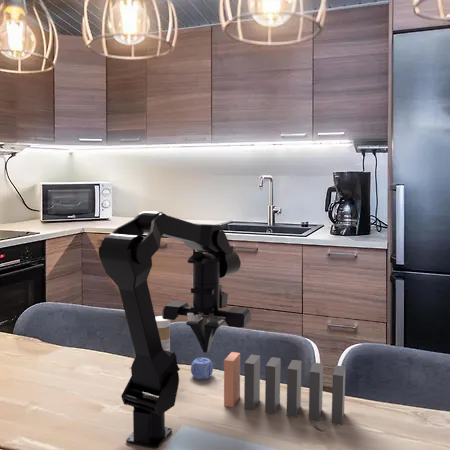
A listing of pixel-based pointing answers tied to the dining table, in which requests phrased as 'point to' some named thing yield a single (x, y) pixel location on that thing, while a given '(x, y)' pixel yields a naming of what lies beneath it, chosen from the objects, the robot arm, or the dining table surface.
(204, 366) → the decorative dice
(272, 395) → the domino
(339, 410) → the domino
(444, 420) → the dining table surface
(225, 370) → the domino
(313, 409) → the domino
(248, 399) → the domino
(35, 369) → the dining table surface
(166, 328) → the sprinkles bottle
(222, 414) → the dining table surface
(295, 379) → the domino
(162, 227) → the robot arm
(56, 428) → the dining table surface
